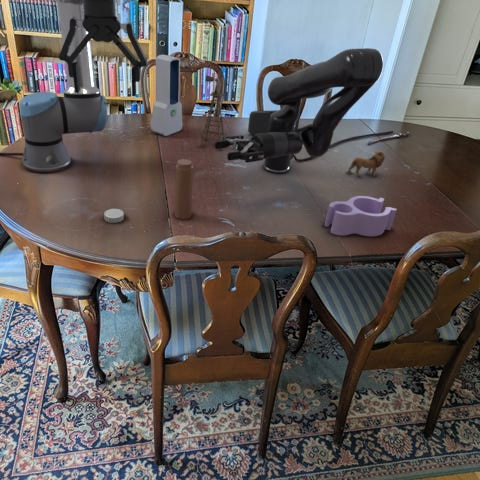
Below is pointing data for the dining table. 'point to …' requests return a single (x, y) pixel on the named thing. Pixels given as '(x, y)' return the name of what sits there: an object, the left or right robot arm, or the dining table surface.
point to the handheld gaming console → (262, 122)
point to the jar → (183, 189)
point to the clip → (359, 216)
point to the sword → (386, 138)
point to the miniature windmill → (215, 95)
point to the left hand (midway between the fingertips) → (106, 93)
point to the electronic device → (167, 97)
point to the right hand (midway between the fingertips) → (221, 150)
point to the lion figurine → (368, 163)
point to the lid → (113, 215)
